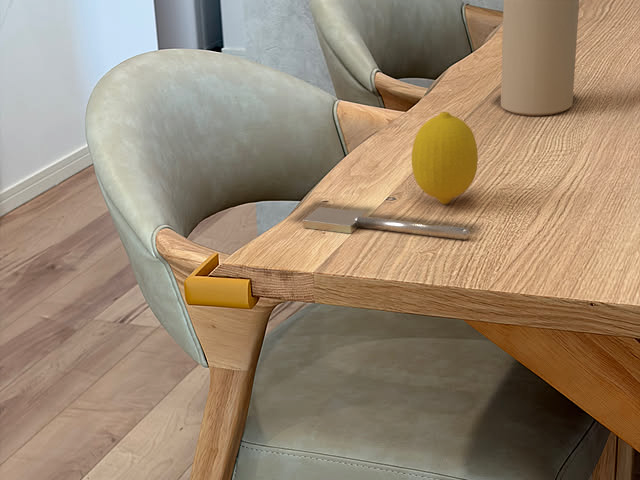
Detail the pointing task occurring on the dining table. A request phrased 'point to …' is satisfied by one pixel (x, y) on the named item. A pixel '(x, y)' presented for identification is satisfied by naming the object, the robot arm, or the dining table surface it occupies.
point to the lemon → (444, 157)
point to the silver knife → (375, 224)
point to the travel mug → (538, 56)
